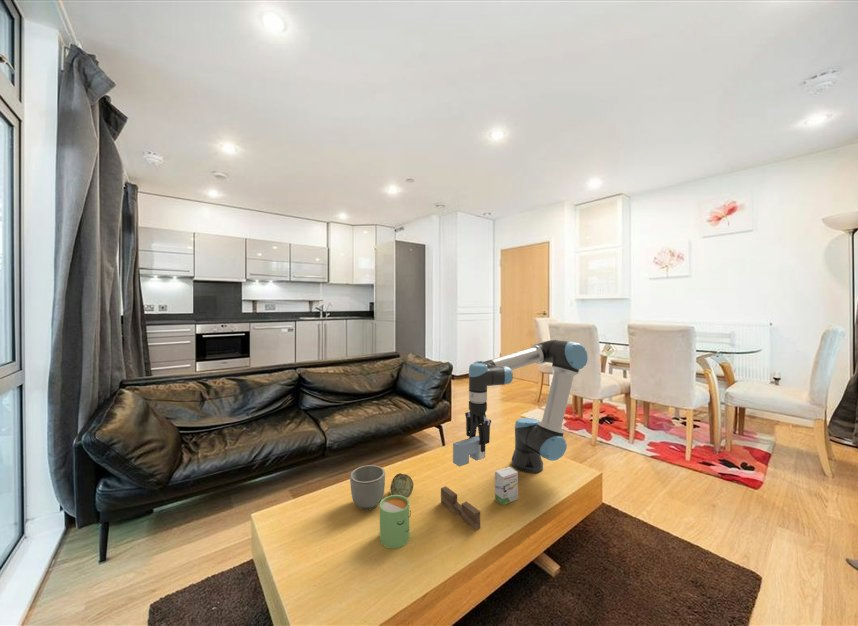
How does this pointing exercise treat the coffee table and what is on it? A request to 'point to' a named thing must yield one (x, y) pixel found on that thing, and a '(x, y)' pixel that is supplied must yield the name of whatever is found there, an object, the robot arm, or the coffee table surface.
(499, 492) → the ink box
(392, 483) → the seashell
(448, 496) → the walnut rail
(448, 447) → the coffee table surface
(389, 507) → the mug
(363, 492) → the planter
